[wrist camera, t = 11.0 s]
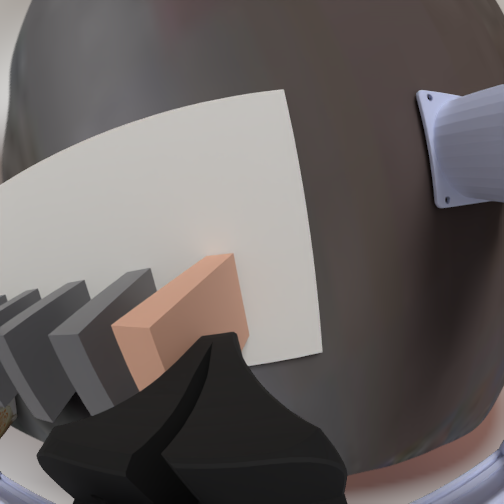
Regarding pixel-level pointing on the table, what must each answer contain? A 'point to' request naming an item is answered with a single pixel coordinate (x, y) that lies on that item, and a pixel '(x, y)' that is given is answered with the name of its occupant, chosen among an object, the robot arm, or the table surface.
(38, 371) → the domino
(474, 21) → the table surface
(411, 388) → the table surface
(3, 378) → the domino
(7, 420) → the coffee box
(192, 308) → the domino
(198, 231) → the grey mat
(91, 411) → the domino
